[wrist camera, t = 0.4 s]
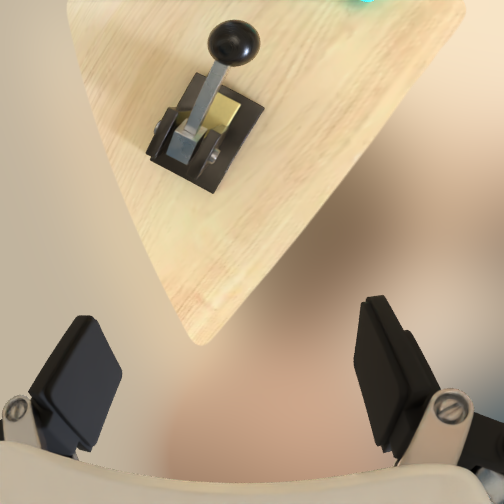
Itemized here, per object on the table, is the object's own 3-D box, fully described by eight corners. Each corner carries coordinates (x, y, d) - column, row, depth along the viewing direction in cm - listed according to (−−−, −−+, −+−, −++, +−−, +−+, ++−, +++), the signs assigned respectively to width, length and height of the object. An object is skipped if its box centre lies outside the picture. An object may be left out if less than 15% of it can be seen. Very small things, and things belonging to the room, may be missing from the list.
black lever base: (198, 73, 31) (170, 57, 20) (264, 108, 33) (268, 106, 22) (152, 158, 36) (110, 182, 25) (214, 191, 38) (196, 228, 27)
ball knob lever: (230, 9, 16) (212, 14, 14) (274, 30, 17) (262, 38, 15) (173, 134, 27) (155, 154, 24) (206, 151, 27) (191, 173, 25)
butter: (210, 88, 31) (206, 86, 28) (241, 104, 32) (239, 103, 29) (189, 125, 33) (183, 126, 30) (219, 141, 34) (216, 143, 31)
